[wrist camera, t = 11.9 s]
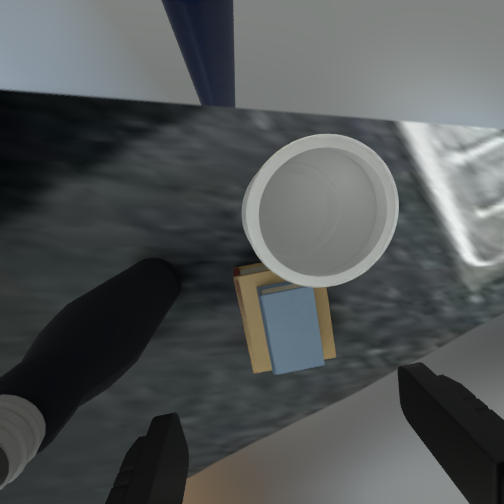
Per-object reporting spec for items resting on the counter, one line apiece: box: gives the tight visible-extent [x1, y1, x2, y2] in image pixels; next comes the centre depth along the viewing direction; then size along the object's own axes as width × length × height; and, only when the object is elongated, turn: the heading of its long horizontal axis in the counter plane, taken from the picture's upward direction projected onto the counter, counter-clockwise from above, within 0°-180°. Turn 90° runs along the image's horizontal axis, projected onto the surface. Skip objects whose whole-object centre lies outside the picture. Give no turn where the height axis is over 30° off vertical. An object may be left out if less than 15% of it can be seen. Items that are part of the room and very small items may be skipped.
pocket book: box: [256, 281, 325, 375], centre depth 29 cm, size 9×6×3 cm, turn 11°
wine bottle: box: [0, 258, 181, 490], centre depth 19 cm, size 6×6×30 cm
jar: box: [242, 134, 399, 288], centre depth 26 cm, size 11×10×15 cm
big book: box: [234, 262, 336, 374], centre depth 33 cm, size 12×10×4 cm
